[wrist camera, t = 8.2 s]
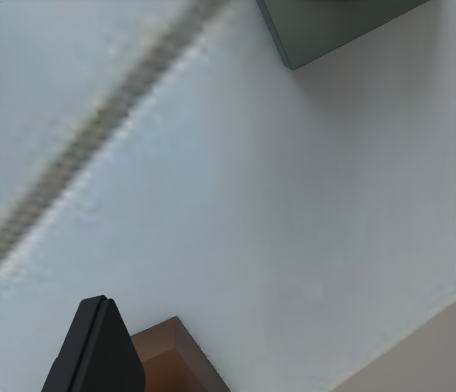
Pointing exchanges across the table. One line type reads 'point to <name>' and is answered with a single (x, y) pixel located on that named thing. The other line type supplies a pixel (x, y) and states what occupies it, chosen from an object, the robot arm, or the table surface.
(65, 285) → the table surface
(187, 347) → the panel
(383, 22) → the box
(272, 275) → the table surface
